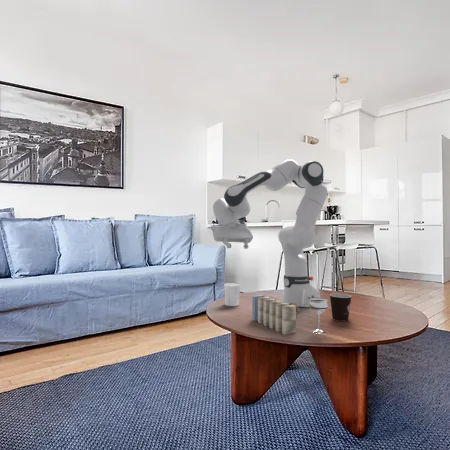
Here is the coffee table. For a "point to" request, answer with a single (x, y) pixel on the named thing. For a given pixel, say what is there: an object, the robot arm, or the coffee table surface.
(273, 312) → the domino
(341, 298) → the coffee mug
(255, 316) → the domino
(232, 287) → the white cup
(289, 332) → the domino
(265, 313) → the domino
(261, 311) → the domino
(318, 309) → the wineglass
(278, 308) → the domino
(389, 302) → the coffee table surface
